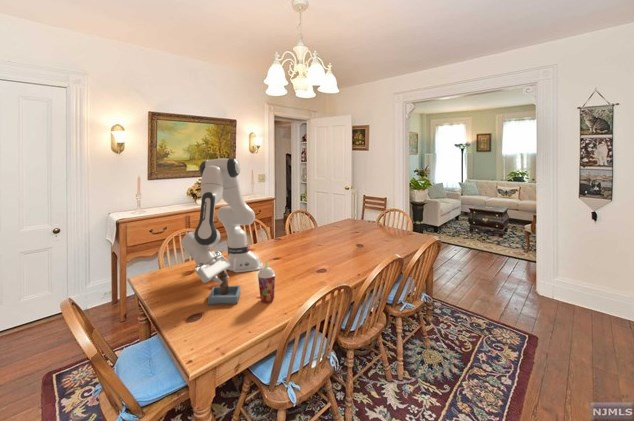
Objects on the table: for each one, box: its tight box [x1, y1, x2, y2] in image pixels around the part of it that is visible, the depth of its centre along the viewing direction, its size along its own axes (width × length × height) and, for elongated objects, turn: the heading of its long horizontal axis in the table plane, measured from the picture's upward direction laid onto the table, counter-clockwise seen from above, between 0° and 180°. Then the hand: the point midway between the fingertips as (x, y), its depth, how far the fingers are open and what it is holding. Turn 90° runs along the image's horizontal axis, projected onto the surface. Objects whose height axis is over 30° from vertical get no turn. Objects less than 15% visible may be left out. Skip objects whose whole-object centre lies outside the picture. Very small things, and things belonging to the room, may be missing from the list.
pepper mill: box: [218, 270, 229, 295], centre depth 155 cm, size 4×4×12 cm
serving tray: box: [207, 285, 242, 306], centre depth 156 cm, size 14×13×4 cm
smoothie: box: [257, 261, 276, 304], centre depth 152 cm, size 8×8×20 cm
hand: (225, 281), depth 154 cm, fingers closed on pepper mill, 4 cm apart
